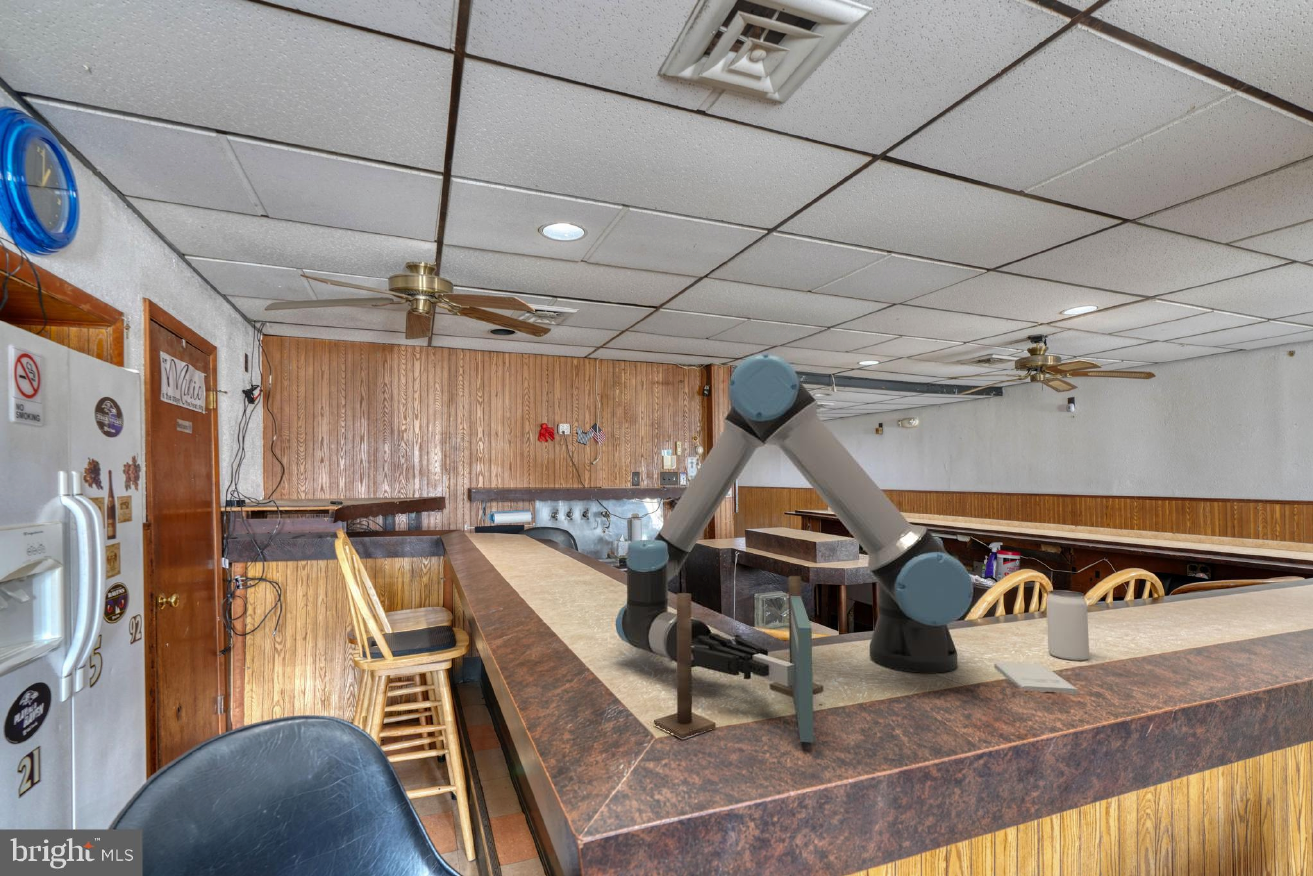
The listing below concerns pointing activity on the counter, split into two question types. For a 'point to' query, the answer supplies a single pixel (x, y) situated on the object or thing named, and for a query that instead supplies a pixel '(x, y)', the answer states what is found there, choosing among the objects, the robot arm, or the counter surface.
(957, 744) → the counter surface
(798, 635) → the gate door
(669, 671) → the counter surface
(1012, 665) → the external hard drive
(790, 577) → the gate frame
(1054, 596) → the can
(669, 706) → the counter surface
